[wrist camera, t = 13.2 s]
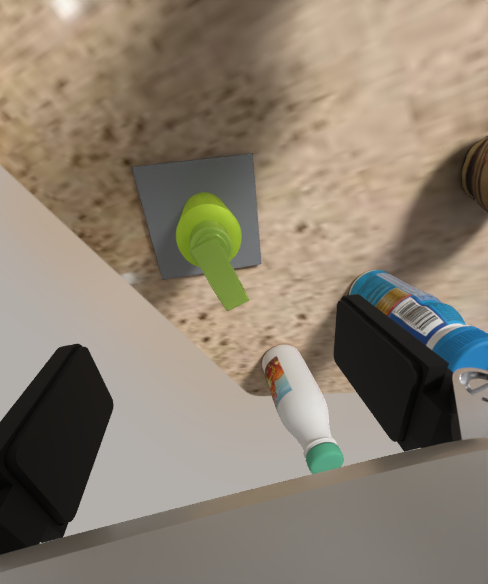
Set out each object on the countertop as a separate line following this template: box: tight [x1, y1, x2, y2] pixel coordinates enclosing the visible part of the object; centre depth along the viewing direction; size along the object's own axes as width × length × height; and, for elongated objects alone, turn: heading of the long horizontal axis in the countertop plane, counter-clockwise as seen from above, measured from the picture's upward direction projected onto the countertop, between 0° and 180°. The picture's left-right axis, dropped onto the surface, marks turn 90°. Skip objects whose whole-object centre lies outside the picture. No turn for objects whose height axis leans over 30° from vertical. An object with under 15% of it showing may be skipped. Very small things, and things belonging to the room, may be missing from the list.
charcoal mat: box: [132, 153, 261, 280], centre depth 35 cm, size 15×15×1 cm
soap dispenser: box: [176, 192, 249, 311], centre depth 26 cm, size 6×7×20 cm
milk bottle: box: [262, 344, 344, 474], centre depth 40 cm, size 8×8×20 cm
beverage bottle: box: [349, 270, 488, 372], centre depth 37 cm, size 8×8×20 cm
